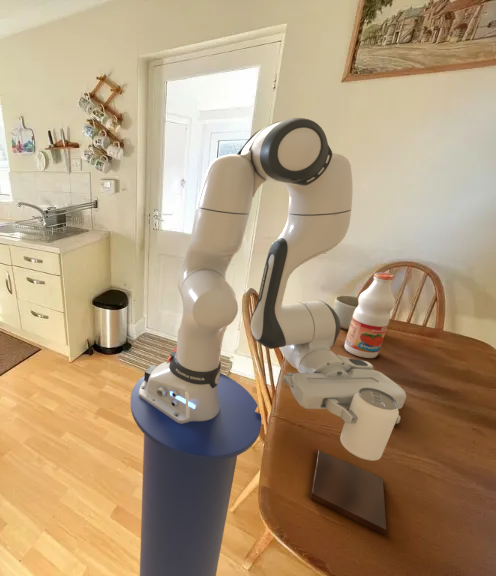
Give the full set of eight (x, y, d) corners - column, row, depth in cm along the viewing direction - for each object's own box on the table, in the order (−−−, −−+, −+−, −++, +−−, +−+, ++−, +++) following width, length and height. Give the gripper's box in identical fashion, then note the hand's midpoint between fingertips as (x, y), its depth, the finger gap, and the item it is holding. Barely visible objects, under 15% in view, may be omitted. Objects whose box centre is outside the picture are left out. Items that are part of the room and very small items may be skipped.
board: (310, 498, 60) (312, 493, 60) (317, 455, 69) (318, 450, 69) (383, 535, 54) (386, 529, 54) (380, 482, 63) (382, 477, 63)
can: (339, 451, 59) (356, 401, 55) (339, 429, 64) (355, 381, 60) (382, 468, 56) (404, 416, 51) (379, 443, 61) (399, 394, 56)
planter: (367, 325, 125) (375, 300, 121) (366, 337, 116) (375, 311, 112) (330, 316, 132) (337, 293, 128) (327, 328, 123) (334, 302, 119)
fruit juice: (358, 342, 113) (382, 268, 103) (384, 357, 104) (413, 278, 94) (336, 345, 111) (358, 271, 101) (361, 360, 102) (387, 280, 92)
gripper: (282, 361, 68) (321, 407, 55) (375, 361, 68) (436, 406, 55) (276, 385, 71) (313, 434, 58) (367, 385, 70) (424, 433, 58)
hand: (374, 420), depth 56 cm, fingers closed on can, 6 cm apart
